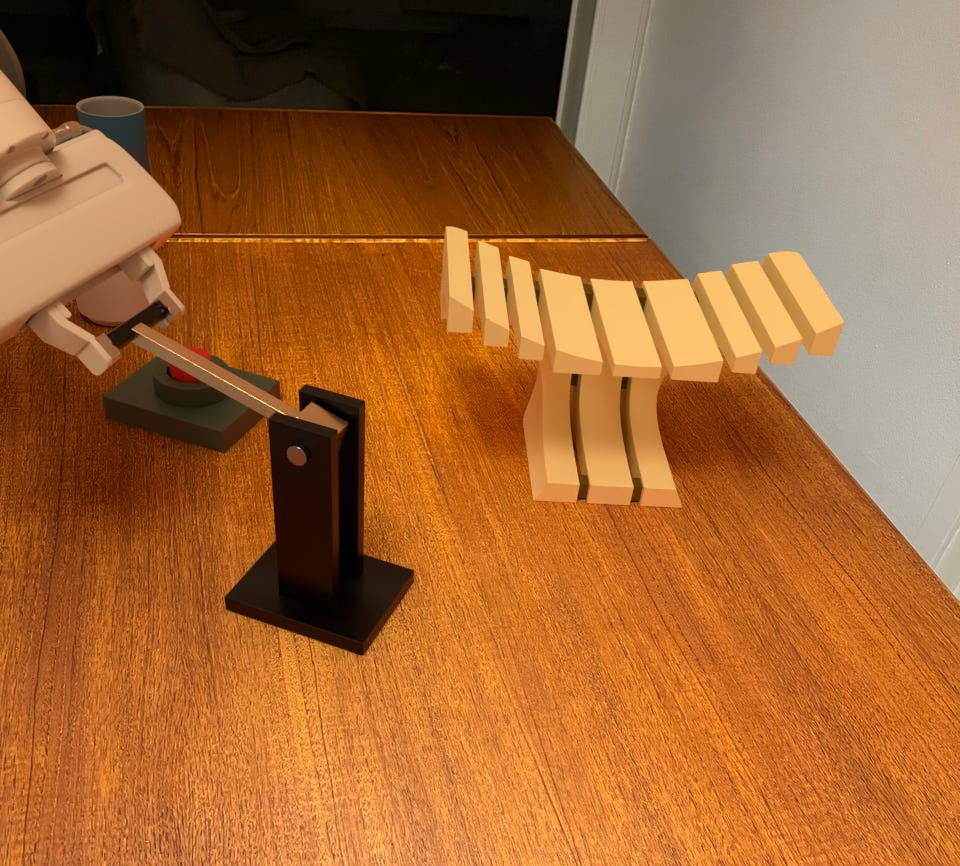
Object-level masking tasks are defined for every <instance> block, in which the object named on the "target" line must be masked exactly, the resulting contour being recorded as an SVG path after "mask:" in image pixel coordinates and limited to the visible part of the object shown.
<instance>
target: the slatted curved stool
mask: <svg viewBox="0 0 960 866" xmlns="http://www.w3.org/2000/svg"><path fill="white" fill-rule="evenodd" d="M443 236H444V238H443V247H442V248H443V251H442V263H441V265H442V266H441V277H440V278H441V280H440V294H439V295H440V296H439V300H440V301H439V302H440V303H439V305H440V320H444V319H445V320H446V332H447V333H460V334H461V333H462V334H473V325H474V318H475V319H479V321H480V330H481V339H482V346H483V347H484V346H485V347H499V348H500V347H501V348H508V347H509V339H510V332H511V331H510V326H511V327H512V330H513V334H514V339H515V346H516V352H517V359H518V360H524V361H537V373H536V378H535V383H534V386H533V389H532V392H531V394H530V398H529V400H528V403H527V406H526V408H525V411H524V415H523V418H522V427H523V433H524V434H523V436H524V442H525V451H526V457H527V458H526V459H527V465H528V473H529V479H530V487H531V494H532V495H531V496H532V501H535V502H555V503H572V504H573V503H574V504H576V503H578V499H585V501H586V504H593V505H594V504H595V505H612V506H613V505H615V506H631V501H632V502H638V503H639V506H640V507H654V508H655V507H656V508H672V509H673V508H675V509H676V508H677V509H683V506H682V505H683V504H682V502H681V499H680V496H679V492H678V489H677V486H676V484H675V479H674V477H673V474H672V470H671V467H670V464H669V461H668V458H667V455H666V451H665V448H664V445H663V440H662V436H661V433H660V427H659V422H658V415H657V414H658V412H657V403H658V402H657V401H658V394H659V390H660V388H661V384H662V382H663V381H664V378H665V376H666V375H667V374H668V376H669V378H670V380H672V381H687V382H689V381H690V382H703V383H719V378H720V375H721V372H722V369H723V365H724V358H725V360H726V363H727V364H728V367H729V369H730V370H731V373H736V374H737V373H738V374H752V375H756V374H757V371H758V368H759V363H760V361H761V357H762V354H763V353H764V355H765V356H766V358H767V360H768V362H769V364H770V365H782V366H783V365H786V366H794V365H795V362H796V361H797V357H798V354H799V351H800V347H801V345H802V346H803V347H804V349H805V351H806V352H807V354H808V355H809V356H819V357H833V356H834V353H835V351H836V348H837V345H838V342H839V340H840V337H841V334H842V331H843V328H844V326H845V320H844V319H843V317H842V316H841V315H840V313H839V311H838V310H837V309H836V307H835V306H834V303H833V302H832V301H831V299H830V298H829V296H828V295H827V292H825V289H824V288H823V287H822V285H821V283H820V282H819V281H818V280H817V278H816V276H815V275H814V273H813V272H812V271H811V270H812V269H810V267H809V265H808V264H807V262H806V261H805V259H804V258H803V256H802V255H801V254H800V253H799V252H797V251H787V250H786V251H775V252H769V253H767V254H766V256H764V258H763V260H762V262H761V264H760V262H759V260H753V261H745V262H739V263H733V264H731V265H730V267H729V269H728V271H727V273H726V276H725V274H724V272H723V270H716V271H708V272H699V273H697V274H696V275H695V278H694V280H693V283H692V285H691V282H690V281H689V279H688V278H681V279H664V280H643V281H642V282H641V285H640V287H635V285H634V282H633V280H612V279H610V280H609V279H601V278H592V277H591V278H590V279H589V282H588V283H583V280H582V277H581V276H578V275H573V274H568V273H562V272H557V271H553V270H549V269H544V268H539V269H538V270H539V271H538V274H537V278H536V280H534V279H533V274H532V268H531V263H530V261H528V260H526V259H522V258H519V257H515V256H512V255H509V256H508V259H507V262H506V268H505V277H504V278H503V269H502V263H501V256H500V248H499V247H498V246H495V245H492V244H490V243H486V242H484V241H481V240H477V243H476V249H475V256H474V266H473V275H472V271H471V262H470V259H471V258H470V250H469V249H470V247H469V235H468V231H467V230H466V229H462V228H460V227H456V226H448V225H446V226H445V227H444V235H443ZM723 356H724V358H723ZM573 440H574V443H573ZM574 446H575V450H576V455H577V460H578V465H579V471H580V474H578V469H577V468H578V467H577V463H576V457H575V450H574Z"/></svg>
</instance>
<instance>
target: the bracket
mask: <svg viewBox="0 0 960 866" xmlns="http://www.w3.org/2000/svg"><path fill="white" fill-rule="evenodd" d="M311 402H313V403H315V404H317V405H318V406H320V407H322V408H324V409H325V410H327V411H329V412H331V413H333V414H334V415H336V416H338V417H340V418H342V419H343V420H345V421H347V422H348V426H347V429H346V432H345V435H344V438H343V442H342V445H341V448H340V450H339V451H338V430H336V429H333V428H330V427H326V426H323V425H319V424H316V423H312V422H309V421H305V420H302V419H299V418H295V417H292V416H288V415H285V414H281V413H278V412H275V413H274V414H273V415H272V416H271V417H269V418H267V426H268V442H269V456H270V473H271V486H272V487H271V489H272V503H273V506H272V507H273V522H274V536H275V540H274V541H273V542H272V543H271V544H270V545H269V547H268V548H267V549H265V551H264V553H262V554H261V556H260V557H259V558H258V559H257V560H256V561H255V562H254V563H253V565H252V566H251V567H250V568H249V569H248V570H247V571H246V573H244V575H243V576H242V577H241V578H240V579H239V580H238V582H236V584H235V585H234V586H233V587H232V588H231V589H230V591H229V592H227V594H225V596H224V606H225V610H227V611H230V612H231V613H232V612H233V613H235V614H238V615H241V616H243V617H248V618H250V619H252V620H253V619H254V620H256V621H258V622H262V623H265V624H268V625H271V626H274V627H277V628H279V629H283V630H285V631H289V632H291V633H295V634H297V635H301V636H304V637H307V638H310V639H312V640H316V641H318V642H321V643H324V644H327V645H330V646H333V647H337V648H339V649H343V650H344V651H348V652H350V653H354V654H357V655H359V656H364V655H365V653H366V652H367V650H368V649H369V647H370V646H371V644H372V643H373V642H374V640H375V639H376V637H377V636H378V635H379V633H380V631H381V630H382V629H383V627H384V626H385V624H386V622H387V621H388V620H389V618H390V617H391V615H392V614H393V612H395V609H396V608H397V607H398V606H399V604H400V602H401V601H402V599H403V598H404V597H405V595H406V594H407V592H408V590H409V589H410V588H411V586H412V584H413V583H414V581H415V579H414V578H415V569H412V568H408V567H405V566H402V565H399V564H396V563H393V562H389V561H387V560H383V559H380V558H377V557H374V556H371V555H368V554H364V547H365V546H364V545H365V544H364V543H365V537H364V536H365V470H366V469H365V466H366V465H365V461H366V460H365V459H366V452H365V451H366V400H364V399H360V398H358V397H357V398H356V397H353V396H350V395H346V394H343V393H339V392H336V391H333V390H328V389H325V388H321V387H318V386H315V385H311V384H307V383H305V384H304V385H303V386H301V387H300V389H298V410H299V411H302V410H303V409H305V408H306V407H307V406H308V405H309V404H310V403H311Z"/></svg>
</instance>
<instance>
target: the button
mask: <svg viewBox="0 0 960 866" xmlns="http://www.w3.org/2000/svg"><path fill="white" fill-rule="evenodd" d="M185 347H186V348H188V349H190V350H191V351H193V352H195V353H197V354H199V355H200V356H202V357H204V358H206V359H208V360H209V361H211V357H210V355H211V354H210V352H209V351H208V350H207V349H204V348H203V347H198V346H185ZM169 368H170V375H171V377H172V378H173V379H174V380H178V381H181V382H199V381H200V380H198V379H197V378H195V377H193V376H191V375H189V374H188V373H186V372H184V371H182V370H180V369H179V368H177V367H175V366H173V365H171V364H170V363H169Z"/></svg>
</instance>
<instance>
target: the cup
mask: <svg viewBox="0 0 960 866" xmlns="http://www.w3.org/2000/svg"><path fill="white" fill-rule="evenodd" d="M75 109H76V112H77V113H76V114H77V117H78V121H79V122H78V123H79V124H80V125H81V126H86V127H89V128H91V129H93V130H99V131H100V132H102V133H103V134H104V135H105V136H106V137H107V138H109V139H111V140H112V141H114V142H115V143H117V144H118V145H119V146H120V147H122V148H123V149H124V150H125V151H126V152H127V153H128V154H130V155H131V156H132V157H133V158H134V159H135V160H136V161H137V162H138V163H139V164H140V165H141V166H142V167H143V168H144V169H145V170H146V172H147V173H148V174H149V175H150V167H149V165H150V164H149V153H148V152H149V151H148V140H147V139H148V138H147V124H146V111H145V110H146V109H145V105H144V104H143V103H142V102H141V101H139V100H136V99H135V98H131V97H126V96H119V95H100V96H91V97H87V98H84V99H81V100H79V101H78V102H77V103H76V105H75ZM83 134H86V133H84V132H83ZM83 134H82V135H83Z"/></svg>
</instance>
